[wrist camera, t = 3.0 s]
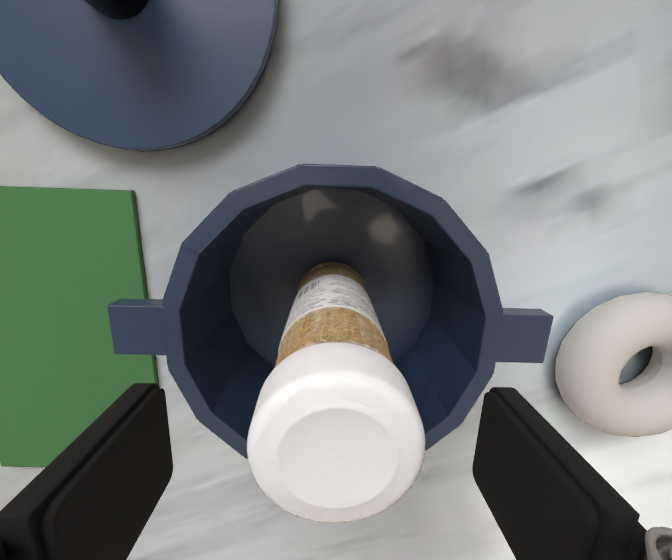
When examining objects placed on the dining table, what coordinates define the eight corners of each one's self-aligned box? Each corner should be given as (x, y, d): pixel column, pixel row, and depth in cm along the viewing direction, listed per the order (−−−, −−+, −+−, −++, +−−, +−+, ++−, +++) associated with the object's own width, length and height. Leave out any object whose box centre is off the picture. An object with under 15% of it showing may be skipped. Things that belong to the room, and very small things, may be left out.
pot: (166, 169, 19) (68, 154, 12) (501, 180, 20) (599, 174, 12) (187, 387, 23) (122, 475, 16) (467, 392, 23) (528, 479, 16)
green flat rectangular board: (-73, 183, 19) (-82, 183, 19) (134, 190, 19) (130, 190, 19) (6, 462, 24) (1, 466, 24) (168, 464, 25) (166, 468, 24)
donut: (531, 311, 22) (554, 430, 24) (567, 331, 19) (590, 467, 21) (681, 265, 21) (690, 392, 24) (747, 278, 18) (749, 424, 20)
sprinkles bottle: (322, 338, 22) (311, 558, 9) (282, 284, 21) (202, 439, 8) (381, 303, 21) (463, 481, 8) (343, 244, 20) (367, 341, 7)
